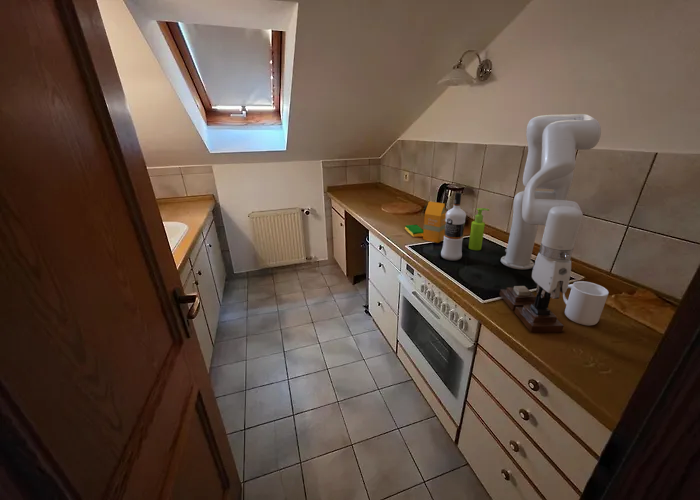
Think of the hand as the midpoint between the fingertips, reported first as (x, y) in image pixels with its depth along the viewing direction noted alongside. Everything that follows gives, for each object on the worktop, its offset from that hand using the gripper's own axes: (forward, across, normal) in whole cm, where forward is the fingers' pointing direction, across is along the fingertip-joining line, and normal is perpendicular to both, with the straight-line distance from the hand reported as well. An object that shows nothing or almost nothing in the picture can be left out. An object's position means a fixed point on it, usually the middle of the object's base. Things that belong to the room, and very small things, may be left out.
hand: (540, 306), depth 90 cm
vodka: (+6, +49, +12) cm, 51 cm away
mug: (+6, +3, -14) cm, 15 cm away
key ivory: (+2, +11, 0) cm, 11 cm away
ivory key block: (+6, +11, 0) cm, 12 cm away
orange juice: (+6, +72, +14) cm, 74 cm away
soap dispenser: (+6, +59, -3) cm, 59 cm away
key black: (+2, 0, 0) cm, 2 cm away
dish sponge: (+6, +83, +22) cm, 86 cm away
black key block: (+6, 0, 0) cm, 6 cm away
